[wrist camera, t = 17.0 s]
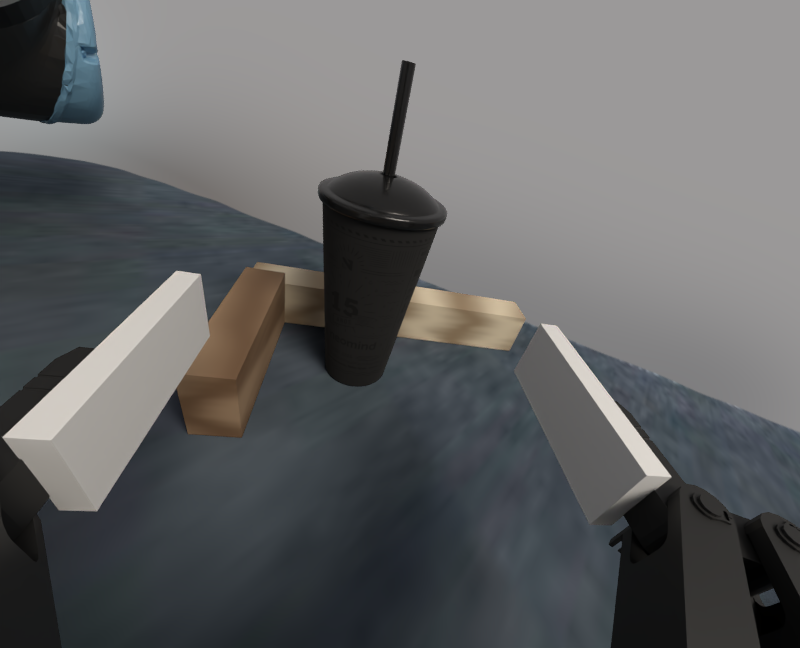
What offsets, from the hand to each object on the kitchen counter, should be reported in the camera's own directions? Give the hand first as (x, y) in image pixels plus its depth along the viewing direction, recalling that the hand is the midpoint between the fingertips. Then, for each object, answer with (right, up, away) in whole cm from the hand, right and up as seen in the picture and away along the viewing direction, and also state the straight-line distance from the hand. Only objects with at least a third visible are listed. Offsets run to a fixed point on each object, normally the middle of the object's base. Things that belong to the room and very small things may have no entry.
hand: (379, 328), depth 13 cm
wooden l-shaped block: (0, -3, +15) cm, 15 cm away
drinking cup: (-3, -3, +14) cm, 15 cm away
